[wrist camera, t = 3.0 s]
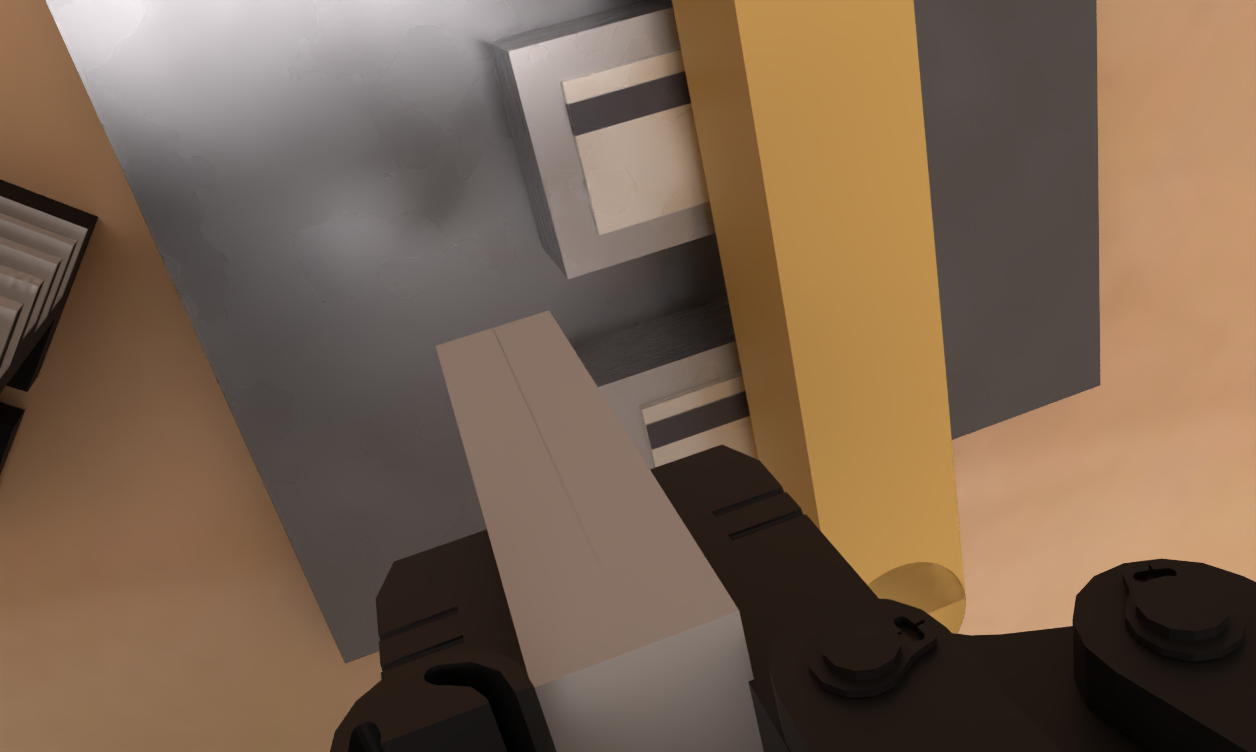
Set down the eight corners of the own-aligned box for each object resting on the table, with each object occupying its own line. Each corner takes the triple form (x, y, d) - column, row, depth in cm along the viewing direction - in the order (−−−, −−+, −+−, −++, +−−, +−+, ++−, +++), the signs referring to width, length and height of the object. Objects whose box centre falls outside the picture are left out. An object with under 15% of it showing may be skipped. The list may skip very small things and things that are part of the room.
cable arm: (569, -216, 18) (667, -284, 13) (746, -256, 19) (904, -336, 14) (735, 564, 26) (835, 706, 21) (856, 518, 27) (981, 646, 22)
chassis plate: (344, 638, 25) (348, 739, 22) (10, -107, 18) (-58, -124, 15) (1076, 372, 29) (1174, 424, 26) (1060, -341, 22) (1196, -396, 18)
